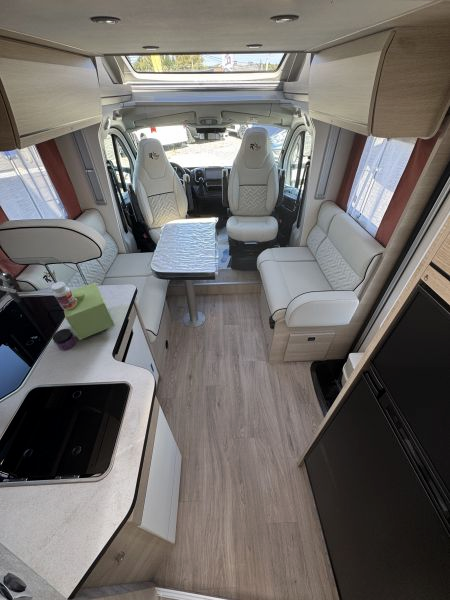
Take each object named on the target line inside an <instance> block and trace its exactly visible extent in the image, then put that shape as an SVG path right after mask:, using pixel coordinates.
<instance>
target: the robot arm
mask: <svg viewBox="0 0 450 600" xmlns="http://www.w3.org/2000/svg"><path fill="white" fill-rule="evenodd" d="M5 281H6V283H8V285H9V286H10V287H6V286H4V282H5ZM20 288H21V286H20V284H19V283H18V282H17V280H16V279H15V278H14V276H13V275H12V274H11V273H8V272H1V274H0V295H2V294H3V292H6V293H7V292H8V295H9V296H10V297H11V299H12V300H13V302H15V303H20V302H22V300H21V299H22V298H21V296H20V295H19V293H18V292H17V290H18V289H20Z"/></svg>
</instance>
